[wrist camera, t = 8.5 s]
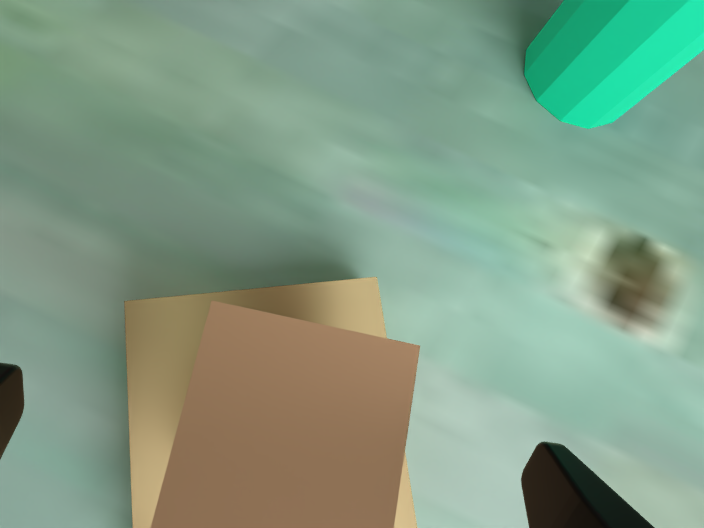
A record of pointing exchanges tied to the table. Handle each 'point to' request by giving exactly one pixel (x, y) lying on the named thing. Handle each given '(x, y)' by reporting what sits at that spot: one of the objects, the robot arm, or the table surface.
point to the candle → (610, 55)
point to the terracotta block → (289, 426)
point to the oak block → (180, 354)
